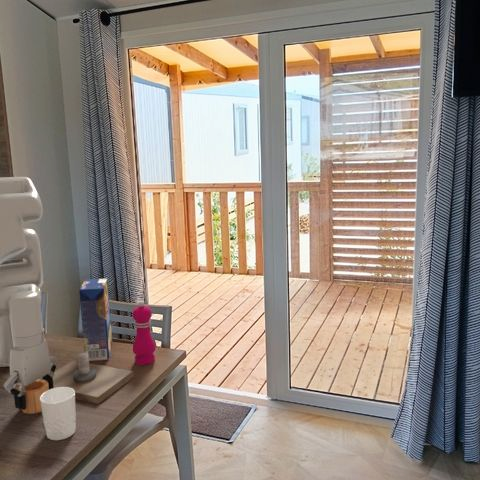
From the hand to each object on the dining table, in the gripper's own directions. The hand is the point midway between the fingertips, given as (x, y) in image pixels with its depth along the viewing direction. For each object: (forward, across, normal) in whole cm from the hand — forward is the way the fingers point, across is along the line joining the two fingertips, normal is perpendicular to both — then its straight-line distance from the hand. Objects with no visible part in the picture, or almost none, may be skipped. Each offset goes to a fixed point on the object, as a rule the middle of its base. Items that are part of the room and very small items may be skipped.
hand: (35, 399), depth 130 cm
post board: (+2, -15, +4) cm, 16 cm away
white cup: (+2, +7, +15) cm, 17 cm away
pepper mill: (+2, -34, +12) cm, 36 cm away
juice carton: (+2, -34, -6) cm, 35 cm away
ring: (+2, 0, 0) cm, 2 cm away
